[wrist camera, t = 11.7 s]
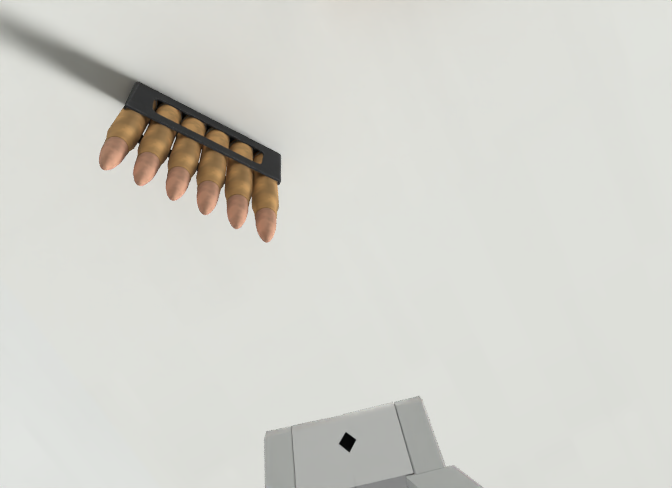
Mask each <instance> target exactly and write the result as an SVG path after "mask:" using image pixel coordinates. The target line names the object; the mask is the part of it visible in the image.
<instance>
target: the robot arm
mask: <svg viewBox="0 0 672 488" xmlns="http://www.w3.org/2000/svg"><path fill="white" fill-rule="evenodd" d="M264 455H265V488H483V487H482V486H481V485H479V484H478V483H477V482H475V481H474V480H473V479H471V478H470V477H469V476H468V475H466V474H465V473H464V472H462V471H461V470H460V469H458V468H457V467H456V466H454V465H452V466H447V467H446V466H445V463H444V460H443V457H442V454H441V452H440V449H439V446H438V443H437V440H436V437H435V435H434V432H433V429H432V426H431V423H430V420H429V417H428V415H427V412H426V409H425V406H424V403H423V400H422V399H421V398H420V397H419V396H417V397H413V398H409V399H405V400H400V401H396V402H394V403H393V402H391V403H387V404H383V405H379V406H375V407H371V408H367V409H363V410H359V411H355V412H351V413H347V414H343V415H341V416H336V417H331V418H326V419H322V420H317V421H312V422H307V423H302V424H298V425H293V426H290V427H285V428H280V429H276V430H271V431H266V434H265V438H264Z"/></svg>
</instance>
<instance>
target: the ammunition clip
mask: <svg viewBox="0 0 672 488" xmlns="http://www.w3.org/2000/svg"><path fill="white" fill-rule="evenodd" d="M148 124H149V126H148V128H147V130H146V132H145V134H144V136H143V135H142V134H143V132H144V130H145V128H146V127H147V125H148ZM175 137H176V140H175V143H174V146H173V148H172V150H170V149H171V146H172V144H173V141H174V138H175ZM137 143H139V147H138V156H137V159H136V162H135V166H134V171H133V176H134V181H135V183H136V184H137V185H139V186H143V185H145V184H147V183H148V182H150V181H151V180H152V179H153V177H154V176H155V175H156V173H157V171H158V169H159V168H160V166H161V164H163V163H164V161H165V160H166V159H167V157H169V161H168V174H167V180H166V191H167V195H168V197H169V199H170V200H172V201H175V200H177V199H179V198H180V197H181V196H182V195H183V194H184V193H185V191H186V189H187V188H188V185H189V182H190V180H191V177H192V176H193V175H194V174H195V172H196V171H198V172H197V176H196V179H197V185H198V186H197V204H198V208H199V210H200V212H201V213H202V214H203V215H207V214H209V213H211V211H212V210H213V209H214V208H215V206H216V204H217V201H218V198H219V194H220V190H221V188H222V187H223V185H224V184H225V197H226V200H227V215H228V219H229V222H230V224H231V226H232V227H233V228H235V229H238V228H240V227H241V226H242V225H243V223H244V222H245V220H246V217H247V213H248V206H249V201H250V199H251V197H252V209H253V211H254V213H255V220H256V228H257V231H258V234H259V236H260V237H261V239H262V240H263V241H264V242H269V241H270V240H271V239H272V238H273V236H274V233H275V230H276V218H277V211H278V208H279V201H278V188H277V185H279V184H280V182H281V155H280V154H279V153H277V152H275V151H273V150H271V149H269V148H267V147H265V146H263V145H261V144H259V143H257V142H255V141H253V140H251V139H249V138H247V137H246V136H244V135H242V134H240V133H238V132H236V131H234V130H232V129H230V128H228V127H226V126H224V125H222V124H220V123H218V122H216V121H214V120H212V119H210V118H208V117H207V116H205V115H203V114H201V113H199V112H197V111H195V110H193V109H191V108H189V107H187V106H185V105H183V104H181V103H179V102H177V101H175V100H173V99H171V98H170V97H168V96H166V95H164V94H162V93H160V92H158V91H156V90H154V89H152V88H150V87H148V86H146V85H144V84H142V83H140V82H136V83H135V85H134V87H133V89H132V91H131V93H130V95H129V97H128V99H127V102H126V104H125V106H124V107H123V109H122V110H121V112H120V113H119V115H118V116H117V118H116V119H115V121H114V122H113V124H112V125H111V127H110V128H109V130H108V132H107V137H106V140H105V142H104V145H103V147H102V149H101V152H100V156H99V164H100V167H101V168H102V169H103V170H110V169H113V168H114V167H116V166H117V165H119V164H120V163H121V162H122V160H123V159H124V158H125V156H126V155H127V154H128V152H129V151H131V150H132V149H134V147H135V146H136V145H137ZM201 149H202V153H201ZM200 153H201V157H200ZM199 157H200V162H199V163H198V161H199ZM226 167H227V171H226ZM225 175H226V176H225Z"/></svg>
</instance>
